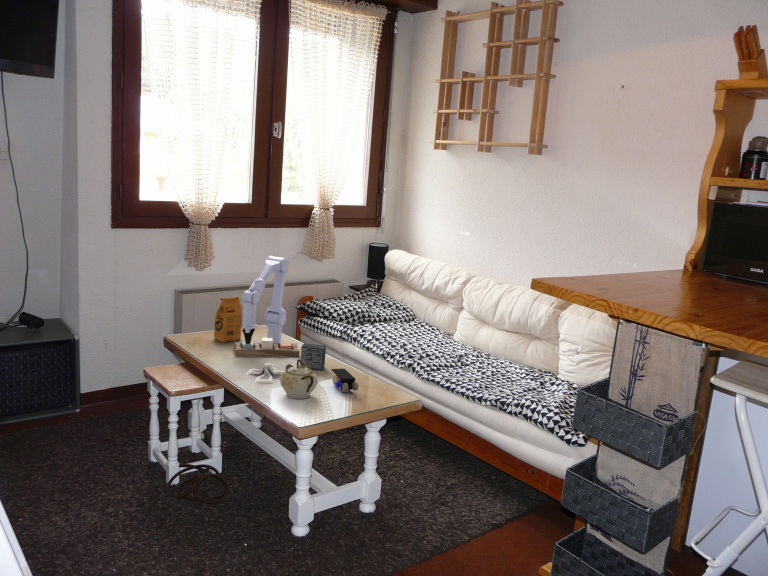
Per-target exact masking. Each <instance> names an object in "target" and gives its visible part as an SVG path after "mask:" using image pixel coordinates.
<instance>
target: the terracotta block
mask: <svg viewBox="0 0 768 576" xmlns="http://www.w3.org/2000/svg"><path fill="white" fill-rule="evenodd" d="M291 343H292V342H282V343H280V349H291V348H292V345H291Z"/></svg>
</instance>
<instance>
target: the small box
mask: <svg viewBox="0 0 768 576" xmlns="http://www.w3.org/2000/svg"><path fill="white" fill-rule="evenodd" d="M326 348H327V345H323V344H314V343H306V342H304V343H303V344H302V345H301V348H300V349H301V350H300V360H301V362H302V363H303V366H304V367H307V368H309V369H311V370H313V371H321V372H322V371H323V370H324V368H325V365H326V353H327V352H326V350H327V349H326ZM299 366H301V364H300V363H299Z"/></svg>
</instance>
